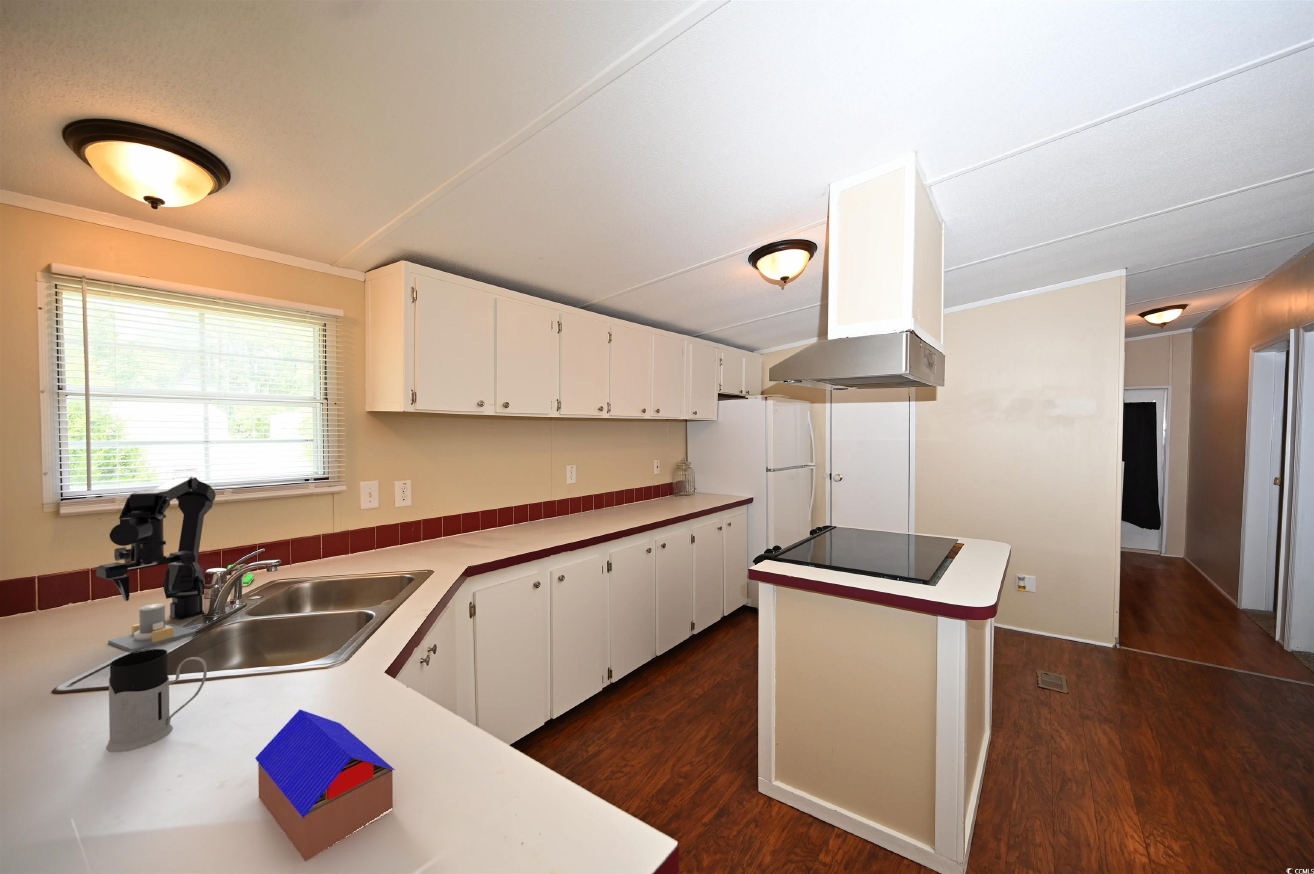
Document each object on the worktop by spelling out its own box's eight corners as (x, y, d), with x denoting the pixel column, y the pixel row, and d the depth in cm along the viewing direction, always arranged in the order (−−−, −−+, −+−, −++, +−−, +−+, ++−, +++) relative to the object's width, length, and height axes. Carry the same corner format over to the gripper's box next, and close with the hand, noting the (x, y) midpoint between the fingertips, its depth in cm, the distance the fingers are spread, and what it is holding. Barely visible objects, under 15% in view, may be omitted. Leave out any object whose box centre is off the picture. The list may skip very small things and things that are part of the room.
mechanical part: (248, 587, 186) (247, 565, 186) (227, 589, 183) (226, 567, 183) (255, 578, 196) (255, 557, 196) (235, 580, 194) (235, 559, 193)
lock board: (170, 626, 148) (170, 614, 148) (195, 634, 143) (195, 621, 143) (108, 644, 136) (107, 631, 136) (132, 653, 131) (132, 639, 131)
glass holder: (123, 730, 98) (122, 651, 97) (216, 715, 103) (215, 640, 103) (93, 757, 90) (92, 672, 89) (196, 739, 95) (195, 658, 95)
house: (340, 761, 89) (339, 694, 89) (396, 814, 77) (395, 737, 77) (255, 800, 80) (254, 725, 80) (303, 868, 68) (302, 780, 67)
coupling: (171, 628, 140) (170, 605, 140) (147, 635, 136) (146, 611, 136) (157, 624, 143) (157, 601, 143) (133, 631, 139) (133, 607, 139)
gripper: (176, 529, 151) (177, 582, 151) (85, 542, 134) (86, 601, 134) (197, 532, 146) (198, 587, 146) (106, 546, 129) (107, 608, 129)
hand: (149, 595), depth 139 cm, fingers open, 9 cm apart
